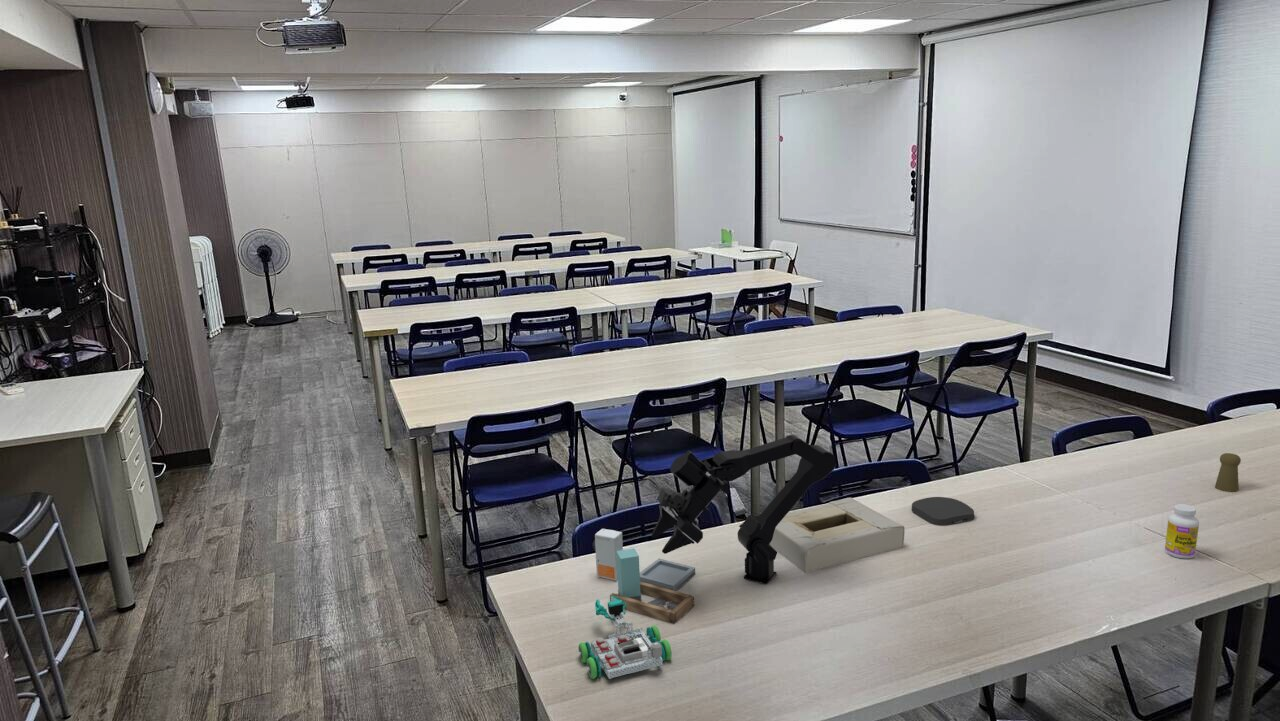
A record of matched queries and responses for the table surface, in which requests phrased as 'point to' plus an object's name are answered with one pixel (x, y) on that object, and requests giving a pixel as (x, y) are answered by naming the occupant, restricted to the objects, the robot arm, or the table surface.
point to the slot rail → (656, 611)
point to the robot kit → (623, 646)
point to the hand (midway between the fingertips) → (657, 544)
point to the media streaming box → (942, 510)
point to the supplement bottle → (1182, 532)
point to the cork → (1228, 473)
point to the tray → (667, 574)
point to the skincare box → (607, 553)
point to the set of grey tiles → (663, 603)
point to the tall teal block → (628, 574)
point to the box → (835, 534)
